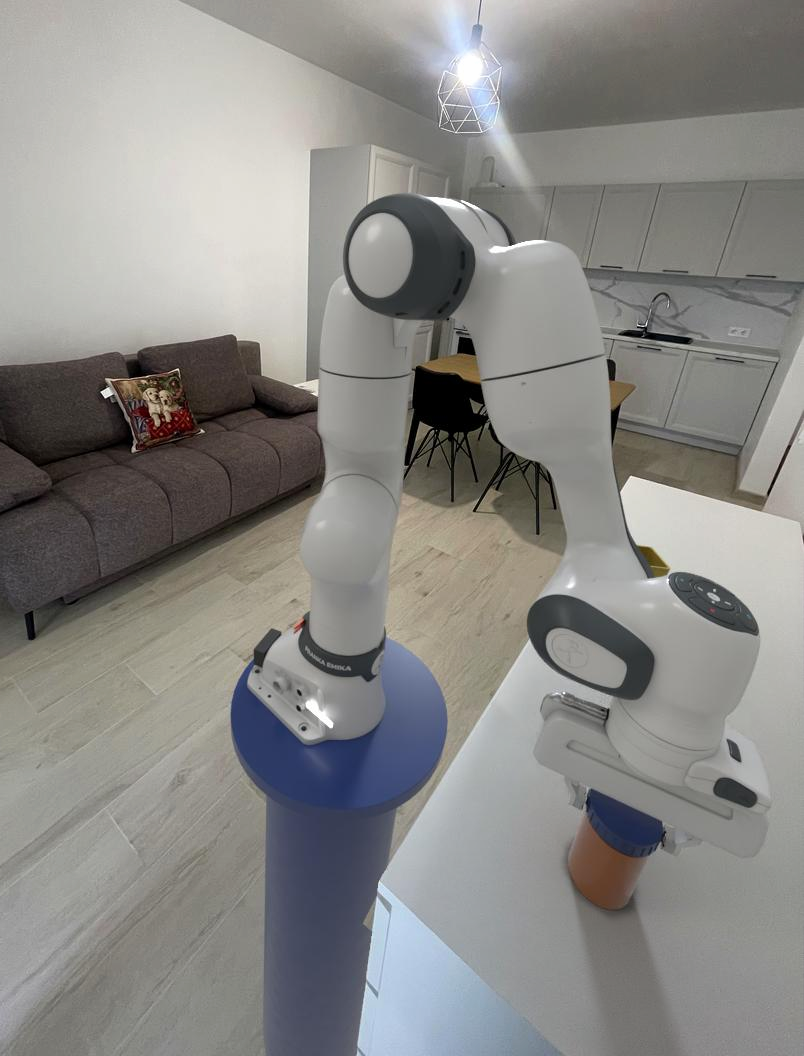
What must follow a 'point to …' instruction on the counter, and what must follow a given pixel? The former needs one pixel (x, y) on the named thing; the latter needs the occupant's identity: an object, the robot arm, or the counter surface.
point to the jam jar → (602, 868)
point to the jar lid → (623, 825)
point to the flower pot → (655, 561)
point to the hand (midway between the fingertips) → (619, 823)
